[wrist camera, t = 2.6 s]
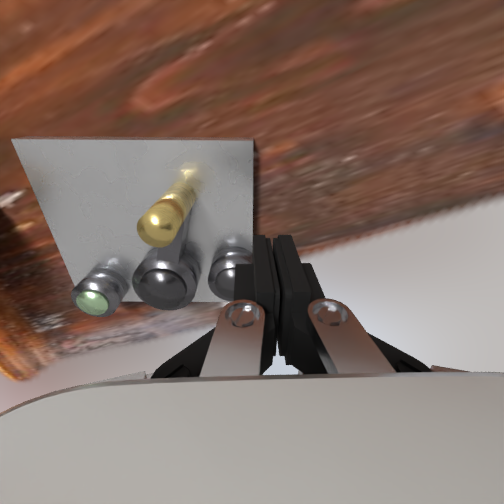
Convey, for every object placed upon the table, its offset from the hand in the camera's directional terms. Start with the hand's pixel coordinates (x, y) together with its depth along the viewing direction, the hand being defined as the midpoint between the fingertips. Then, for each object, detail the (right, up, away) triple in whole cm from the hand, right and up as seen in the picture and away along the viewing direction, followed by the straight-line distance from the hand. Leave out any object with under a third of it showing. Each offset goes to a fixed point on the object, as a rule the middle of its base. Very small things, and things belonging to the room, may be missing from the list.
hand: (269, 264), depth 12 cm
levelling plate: (-9, +3, +10) cm, 14 cm away
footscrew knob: (-7, +1, +9) cm, 12 cm away
